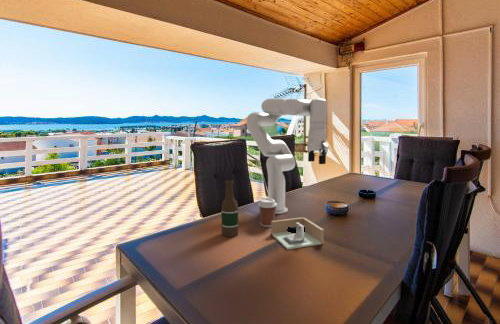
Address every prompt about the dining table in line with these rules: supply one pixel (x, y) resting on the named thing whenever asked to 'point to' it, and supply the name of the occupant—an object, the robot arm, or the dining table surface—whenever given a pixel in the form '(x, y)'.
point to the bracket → (298, 236)
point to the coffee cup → (267, 211)
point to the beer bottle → (229, 212)
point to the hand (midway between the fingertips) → (316, 162)
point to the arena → (311, 234)
